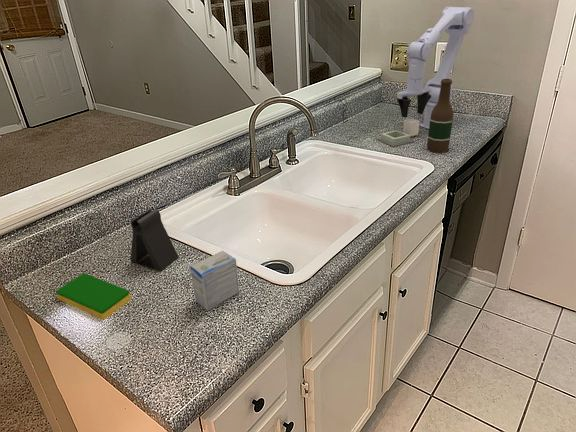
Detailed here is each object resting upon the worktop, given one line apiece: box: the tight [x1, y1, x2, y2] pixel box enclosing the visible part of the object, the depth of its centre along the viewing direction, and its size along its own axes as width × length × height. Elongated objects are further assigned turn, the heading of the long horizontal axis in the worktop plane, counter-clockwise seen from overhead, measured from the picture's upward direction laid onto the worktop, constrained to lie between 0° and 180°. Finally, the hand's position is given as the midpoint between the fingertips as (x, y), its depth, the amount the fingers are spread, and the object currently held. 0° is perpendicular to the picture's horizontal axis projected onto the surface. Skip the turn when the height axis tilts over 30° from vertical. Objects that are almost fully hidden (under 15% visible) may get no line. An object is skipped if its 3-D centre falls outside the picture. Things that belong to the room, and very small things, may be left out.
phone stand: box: [130, 207, 179, 273], centre depth 100 cm, size 9×6×12 cm, turn 63°
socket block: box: [375, 129, 416, 148], centre depth 166 cm, size 10×10×2 cm
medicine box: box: [189, 250, 240, 311], centre depth 88 cm, size 8×4×9 cm, turn 133°
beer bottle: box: [426, 78, 454, 154], centre depth 152 cm, size 8×8×24 cm
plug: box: [402, 118, 421, 138], centre depth 169 cm, size 4×4×6 cm
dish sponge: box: [55, 272, 132, 320], centre depth 91 cm, size 7×14×2 cm, turn 60°
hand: (412, 115), depth 167 cm, fingers open, 7 cm apart
